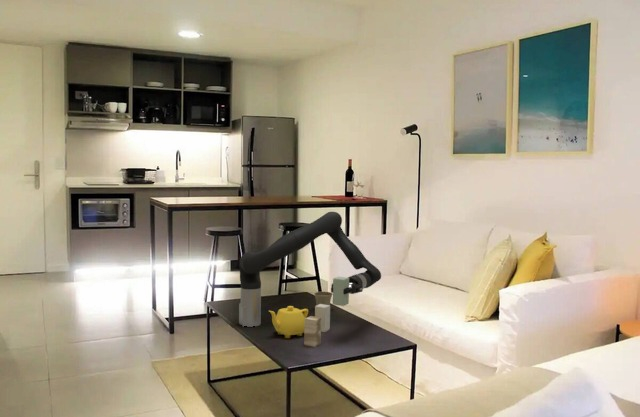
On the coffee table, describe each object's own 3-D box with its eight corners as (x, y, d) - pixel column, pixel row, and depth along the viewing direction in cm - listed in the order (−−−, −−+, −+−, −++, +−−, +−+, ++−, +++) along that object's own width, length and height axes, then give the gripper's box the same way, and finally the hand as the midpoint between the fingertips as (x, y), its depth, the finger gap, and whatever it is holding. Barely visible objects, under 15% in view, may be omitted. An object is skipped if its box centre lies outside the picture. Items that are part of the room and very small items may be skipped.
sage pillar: (343, 306, 231) (344, 279, 230) (332, 304, 234) (333, 278, 233) (348, 303, 236) (349, 277, 235) (337, 301, 238) (338, 276, 237)
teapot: (260, 334, 243) (261, 306, 242) (299, 327, 254) (300, 300, 253) (276, 342, 232) (276, 313, 231) (316, 335, 243) (316, 307, 242)
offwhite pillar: (324, 332, 248) (325, 307, 247) (314, 330, 250) (315, 306, 249) (329, 329, 252) (330, 305, 251) (319, 327, 254) (320, 303, 254)
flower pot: (319, 313, 278) (319, 296, 277) (310, 309, 286) (310, 292, 286) (335, 311, 282) (335, 294, 282) (326, 307, 291) (327, 290, 290)
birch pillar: (314, 346, 227) (315, 320, 227) (304, 344, 230) (304, 318, 229) (320, 343, 232) (321, 317, 231) (310, 341, 234) (310, 315, 233)
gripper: (340, 273, 250) (323, 280, 235) (370, 277, 243) (354, 284, 228) (340, 289, 250) (322, 297, 235) (370, 294, 244) (353, 302, 229)
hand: (338, 291), depth 232 cm, fingers closed on sage pillar, 5 cm apart
